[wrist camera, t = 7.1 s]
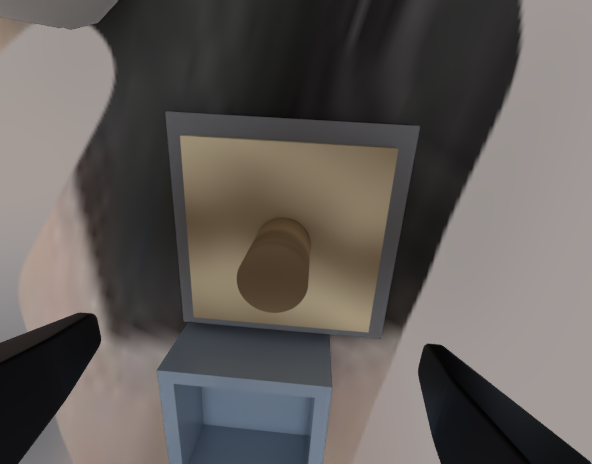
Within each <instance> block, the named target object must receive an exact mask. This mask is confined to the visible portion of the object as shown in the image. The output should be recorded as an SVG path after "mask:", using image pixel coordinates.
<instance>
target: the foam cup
mask: <svg viewBox="0 0 592 464" xmlns="http://www.w3.org/2000/svg"><path fill="white" fill-rule="evenodd" d="M118 1H119V0H0V17H3V18H9V19H14V20H19V21H25V22H30V23H36V24H41V25H47V26H52V27H57V28H62V27H64V28H67V29H76V28H80V27H83V26H88V25H92V24H96V23H98V22H99V21H100V20H101V19H102V18H103V17H104V16H105V15H106V14H107V13H108V12H109V10H110V9H111V8H112V7H113V6H114V5H115V4H116V3H117V2H118Z"/></svg>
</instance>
